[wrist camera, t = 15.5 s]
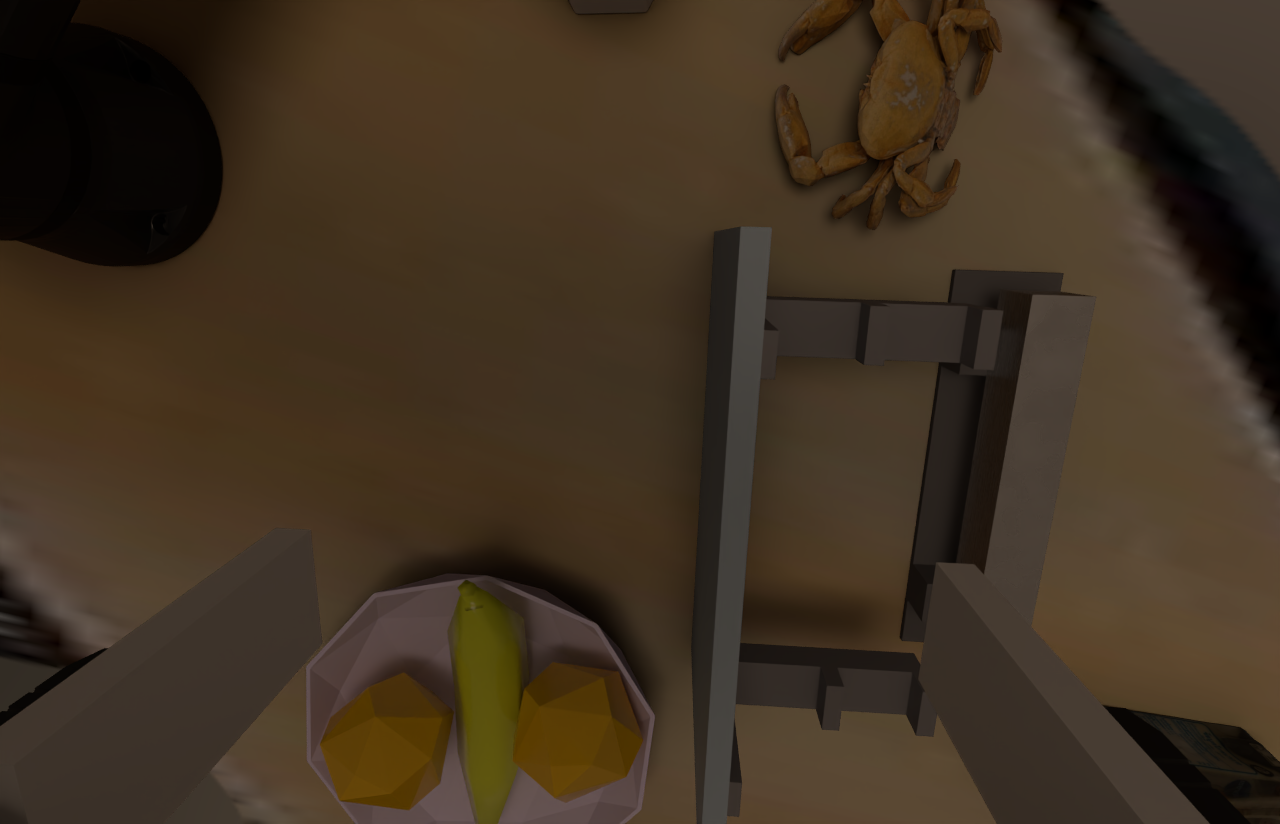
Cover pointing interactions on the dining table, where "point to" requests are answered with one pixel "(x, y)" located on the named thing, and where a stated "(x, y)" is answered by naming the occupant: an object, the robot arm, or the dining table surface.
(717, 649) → the panel
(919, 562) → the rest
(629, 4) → the jar
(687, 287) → the dining table surface
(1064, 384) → the rail
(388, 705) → the fruit bowl
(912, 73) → the crab model
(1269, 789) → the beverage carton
